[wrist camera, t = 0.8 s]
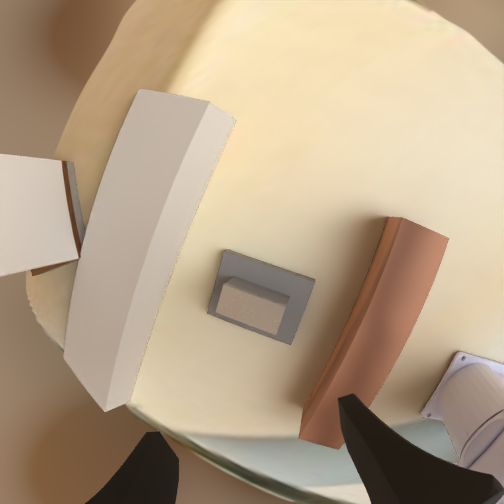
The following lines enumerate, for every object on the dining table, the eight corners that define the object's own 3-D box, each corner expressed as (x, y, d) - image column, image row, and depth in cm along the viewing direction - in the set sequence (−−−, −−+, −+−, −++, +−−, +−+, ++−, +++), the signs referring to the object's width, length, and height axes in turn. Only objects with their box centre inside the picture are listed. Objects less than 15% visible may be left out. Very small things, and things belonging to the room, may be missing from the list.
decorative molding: (90, 351, 37) (133, 399, 32) (63, 357, 32) (104, 412, 28) (170, 104, 29) (240, 122, 25) (139, 88, 25) (210, 101, 21)
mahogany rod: (426, 233, 23) (449, 238, 18) (338, 417, 27) (338, 449, 22) (387, 216, 23) (402, 217, 18) (303, 407, 27) (298, 438, 22)
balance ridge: (315, 279, 25) (313, 291, 21) (291, 340, 26) (286, 360, 22) (227, 249, 27) (211, 255, 23) (210, 309, 28) (193, 324, 24)
